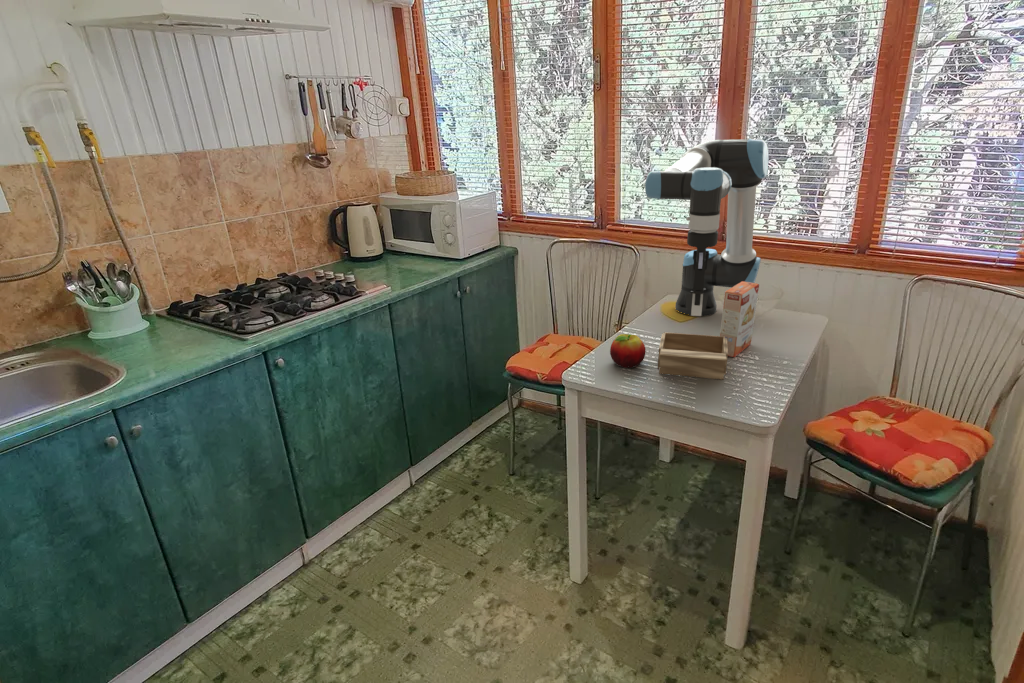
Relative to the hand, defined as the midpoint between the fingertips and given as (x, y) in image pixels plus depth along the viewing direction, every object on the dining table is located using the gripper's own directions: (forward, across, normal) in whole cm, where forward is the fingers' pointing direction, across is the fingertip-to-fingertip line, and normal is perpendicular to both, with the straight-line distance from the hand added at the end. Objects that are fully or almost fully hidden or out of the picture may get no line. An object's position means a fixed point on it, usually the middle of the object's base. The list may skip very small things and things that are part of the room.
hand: (696, 314), depth 157 cm
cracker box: (+21, -25, +13) cm, 35 cm away
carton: (+20, -8, 0) cm, 22 cm away
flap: (+11, +3, 0) cm, 11 cm away
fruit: (+20, -6, -19) cm, 29 cm away
